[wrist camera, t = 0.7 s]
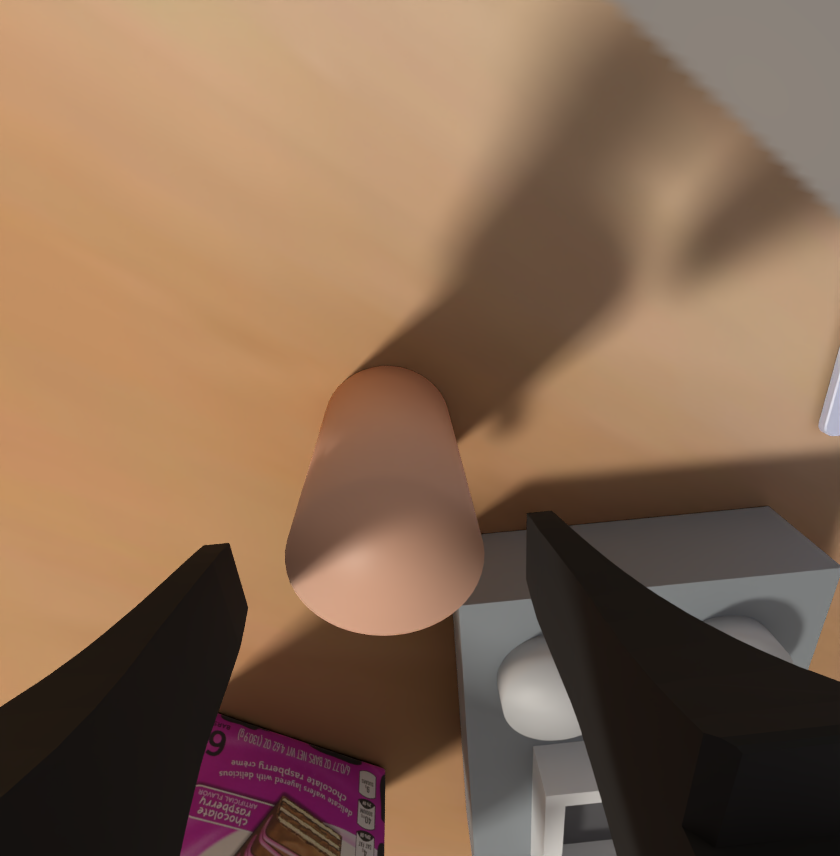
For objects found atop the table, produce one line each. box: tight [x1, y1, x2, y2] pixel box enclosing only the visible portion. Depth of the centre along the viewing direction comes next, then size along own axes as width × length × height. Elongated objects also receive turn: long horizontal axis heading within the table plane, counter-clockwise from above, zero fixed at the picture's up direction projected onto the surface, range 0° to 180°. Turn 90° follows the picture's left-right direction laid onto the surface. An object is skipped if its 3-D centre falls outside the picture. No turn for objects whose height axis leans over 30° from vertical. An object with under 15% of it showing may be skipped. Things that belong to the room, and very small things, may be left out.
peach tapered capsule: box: [285, 366, 484, 636], centre depth 16 cm, size 5×7×8 cm
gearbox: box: [453, 506, 840, 856], centre depth 23 cm, size 14×20×6 cm
